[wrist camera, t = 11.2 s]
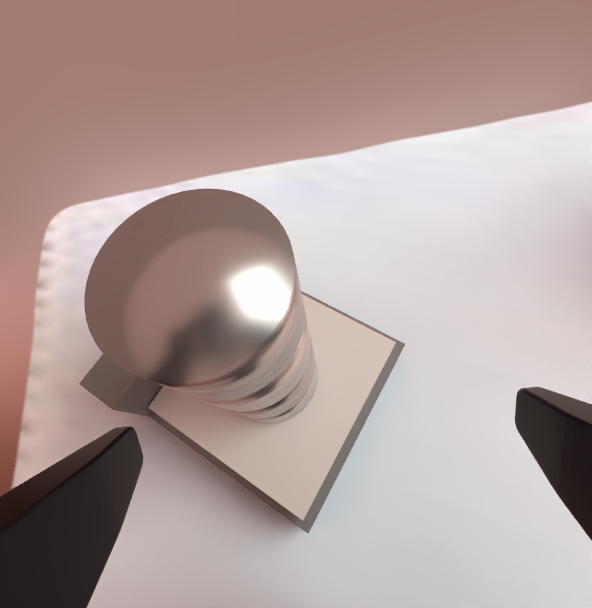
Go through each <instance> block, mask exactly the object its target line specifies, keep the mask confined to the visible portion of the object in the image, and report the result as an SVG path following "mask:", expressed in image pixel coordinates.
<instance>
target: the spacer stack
mask: <svg viewBox="0 0 592 608" xmlns="http://www.w3.org/2000/svg"><path fill="white" fill-rule="evenodd" d="M85 314H86V320H87V323H88V327H89V330H90V333H91V335H92V337H93V339H94V341H95V343H96V344H97V345H98V347H99V348H100V350H101V351H102V352H103V353H104V354H105V355H106V356H107V357H108V358H109V359H110V360H111V361H112V362H113V363H114V364H116V365H117V366H119V367H120V368H122V369H123V370H125V371H127V372H129V373H131V374H134V375H136V376H138V377H141V378H144V379H146V380H149V381H152V382H154V383H157V384H160V385H162V386H165V387H168V388H170V389H173V390H175V391H178V392H181V393H183V394H186V395H189V396H191V397H194V398H197V399H199V400H202V401H205V402H207V403H210V404H212V405H215V406H218V407H220V408H223V409H226V410H228V411H231V412H234V413H236V414H239V415H242V416H244V417H247V418H250V419H252V420H255V421H258V422H262V423H280V422H284V421H287V420H289V419H291V418H293V417H295V416H296V415H298V414H299V413H300V412H302V411H303V410H304V409H305V408H306V406H307V405H308V404H309V402H310V401H311V399H312V397H313V395H314V393H315V390H316V386H317V380H318V372H317V365H316V360H315V356H314V351H313V346H312V341H311V336H310V332H309V327H308V322H307V317H306V312H305V308H304V303H303V298H302V293H301V288H300V284H299V279H298V274H297V269H296V264H295V260H294V255H293V251H292V247H291V243H290V240H289V238H288V236H287V234H286V231H285V230H284V228H283V226H282V225H281V223H280V222H279V220H278V219H277V218H276V217H275V216H274V215H273V214H272V213H271V212H270V211H269V210H268V209H267V208H265V207H264V206H263V205H261V204H260V203H258V202H257V201H255V200H253V199H251V198H249V197H247V196H244V195H242V194H239V193H235V192H232V191H226V190H221V189H195V190H189V191H183V192H179V193H175V194H171V195H169V196H166V197H163V198H161V199H158V200H156V201H154V202H152V203H150V204H148V205H147V206H145V207H143V208H142V209H140V210H138V211H137V212H135V213H134V214H133V215H131V216H130V217H129V218H128V219H126V220H125V221H124V222H123V223H122V224H121V225H120V226H119V227H118V228H117V229H116V230H115V231H114V232H113V233H112V234H111V235H110V237H109V238H108V239H107V241H106V242H105V243H104V245H103V246H102V248H101V249H100V251H99V253H98V254H97V256H96V258H95V260H94V262H93V265H92V267H91V270H90V273H89V276H88V280H87V283H86V290H85Z"/></svg>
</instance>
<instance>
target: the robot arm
mask: <svg viewBox="0 0 592 608" xmlns="http://www.w3.org/2000/svg"><path fill="white" fill-rule="evenodd" d="M515 424H516V427H517V430H518V432H519V433H520V435H521V437H522V438H523V440H524V442H525V443H526V445H527V446H528V448H529V450H530V451H531V453H532V455H533V456H534V458H535V459H536V461H537V463H538V464H539V466H540V468H541V469H542V471H543V472H544V474H545V476H546V477H547V479H548V481H549V482H550V484H551V485H552V487H553V488H554V490H555V491H556V493H557V494H558V496H559V497H560V499H561V500H562V501H563V503H564V504H565V506H566V507H567V508H568V510H569V511H570V512H571V514H572V515H573V516H574V518H575V519H576V520H577V522H578V523H579V524H580V526H581V527H582V528H583V530H584V531H585V532H586V534H587V535H588V536H589V538H590V539H591V540H592V404H589V403H586V402H583V401H580V400H577V399H574V398H571V397H568V396H565V395H562V394H559V393H556V392H553V391H550V390H547V389H544V388H541V387H531V388H522V389H520V390H519V391H518V393H517V398H516V412H515ZM142 464H143V454H142V450H141V447H140V444H139V440H138V437H137V433H136V431H135V429H134V428H132V427H121V428H115V429H113V430H111V431H109V432H108V433H106V434H104V435H102V436H101V437H99V438H97V439H96V440H94V441H92V442H91V443H89V444H87V445H86V446H84V447H82V448H81V449H79V450H77V451H76V452H74V453H72V454H71V455H69V456H67V457H66V458H64V459H62V460H61V461H59V462H57V463H56V464H54V465H52V466H50V467H49V468H47V469H45V470H44V471H42V472H40V473H39V474H37V475H35V476H34V477H32V478H30V479H29V480H27V481H25V482H24V483H22V484H20V485H19V486H17V487H15V488H14V489H12V490H10V491H9V492H7V493H5V494H4V495H2V496H0V608H87V606H88V603H89V601H90V599H91V597H92V594H93V592H94V590H95V588H96V585H97V583H98V581H99V578H100V576H101V574H102V572H103V569H104V567H105V565H106V563H107V560H108V558H109V556H110V553H111V551H112V549H113V547H114V544H115V542H116V540H117V537H118V535H119V532H120V530H121V527H122V524H123V522H124V519H125V516H126V513H127V510H128V507H129V504H130V501H131V498H132V495H133V492H134V489H135V486H136V483H137V480H138V477H139V474H140V471H141V468H142Z"/></svg>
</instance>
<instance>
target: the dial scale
mask: <svg viewBox="0 0 592 608" xmlns="http://www.w3.org/2000/svg"><path fill="white" fill-rule="evenodd" d="M301 293H302V298H303V303H304V308H305V312H306V317H307V322H308V327H309V332H310V336H311V341H312V346H313V351H314V356H315V360H316V365H317V372H318V380H317V386H316V390H315V393H314V395H313V397H312V399H311V401H310V402H309V404H308V405H307V406H306V408H305V409H304V410H303V411H302V412H300V413H299V414H298V415H296V416H295V417H293V418H291V419H289V420H287V421H284V422H280V423H262V422H258V421H255V420H252V419H250V418H247V417H244V416H242V415H239V414H236V413H234V412H231V411H228V410H226V409H223V408H220V407H218V406H215V405H212V404H210V403H207V402H205V401H202V400H199V399H197V398H194V397H191V396H189V395H186V394H183V393H181V392H178V391H175V390H173V389H170V388H168V387H165V386H162V385H160V384H157V383H154V382H152V381H149V380H146V379H144V378H141V377H138V376H136V375H134V374H131V373H129V372H127V371H125V370H123V369H122V368H120V367H119V366H117V365H116V364H114V363H113V362H112V361H111V360H110V359H109V358H108V357H107V356H106V355H105V354H103V355H102V356H101V358H100V359H99V360H98V361H97V363H96V364H95V365H94V366H93V368H92V369H91V370H90V371H89V373H88V374H87V375H86V376H85V378H84V379H83V380H82V381H81V383H80V385H81V386H83V387H84V388H85V389H87V390H88V391H89V392H91V393H92V394H93V395H95V396H96V397H97V398H99V399H100V400H101V401H102V402H104V403H105V404H106V405H108V406H109V407H110V408H112V409H113V410H118V411H123V412H129V413H134V414H140V415H145V416H150V417H151V418H153V419H154V420H155V421H157V422H158V423H159V424H161V425H162V426H163V427H165V428H166V429H168V430H169V431H170V432H172V433H173V434H174V435H176V436H177V437H178V438H180V439H181V440H182V441H184V442H185V443H186V444H188V445H189V446H191V447H192V448H193V449H195V450H196V451H197V452H199V453H200V454H201V455H203V456H204V457H205V458H207V459H208V460H209V461H211V462H212V463H214V464H215V465H216V466H218V467H219V468H220V469H222V470H223V471H224V472H226V473H227V474H228V475H230V476H231V477H232V478H234V479H235V480H237V481H238V482H239V483H241V484H242V485H243V486H245V487H246V488H247V489H249V490H250V491H251V492H253V493H254V494H255V495H257V496H258V497H260V498H261V499H262V500H264V501H265V502H266V503H268V504H269V505H270V506H272V507H273V508H274V509H276V510H277V511H278V512H280V513H281V514H283V515H284V516H285V517H287V518H288V519H289V520H291V521H292V522H293V523H295V524H296V525H297V526H299V527H300V528H301V529H303V530H304V531H306V532H307V533H309V531H310V529H311V527H312V525H313V523H314V521H315V519H316V517H317V515H318V513H319V511H320V509H321V507H322V506H323V504H324V502H325V500H326V498H327V496H328V494H329V492H330V490H331V488H332V486H333V484H334V482H335V480H336V478H337V476H338V474H339V472H340V470H341V468H342V466H343V465H344V463H345V461H346V459H347V457H348V455H349V453H350V451H351V449H352V447H353V445H354V443H355V441H356V439H357V437H358V435H359V433H360V431H361V429H362V427H363V425H364V424H365V422H366V420H367V418H368V416H369V414H370V412H371V410H372V408H373V406H374V404H375V402H376V400H377V398H378V396H379V394H380V392H381V390H382V388H383V386H384V384H385V383H386V381H387V379H388V377H389V375H390V373H391V371H392V369H393V367H394V365H395V363H396V361H397V359H398V357H399V355H400V353H401V351H402V349H403V347H404V345H405V344H404V343H402V342H400V341H398V340H396V339H394V338H392V337H390V336H388V335H386V334H384V333H382V332H380V331H378V330H376V329H374V328H372V327H371V326H369V325H367V324H365V323H363V322H361V321H359V320H357V319H355V318H353V317H351V316H349V315H347V314H345V313H343V312H341V311H339V310H337V309H335V308H333V307H331V306H329V305H328V304H326V303H324V302H322V301H320V300H318V299H316V298H314V297H312V296H310V295H308V294H306V293H304V292H302V291H301Z"/></svg>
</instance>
